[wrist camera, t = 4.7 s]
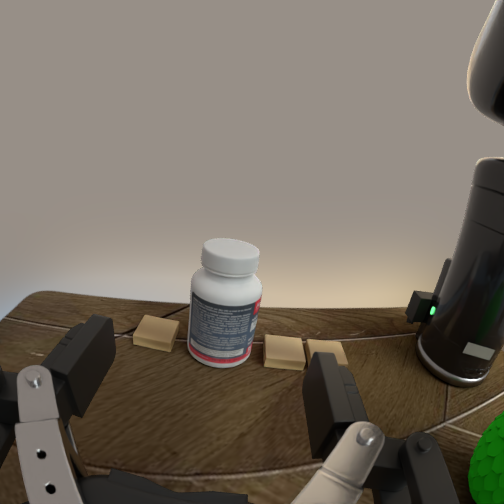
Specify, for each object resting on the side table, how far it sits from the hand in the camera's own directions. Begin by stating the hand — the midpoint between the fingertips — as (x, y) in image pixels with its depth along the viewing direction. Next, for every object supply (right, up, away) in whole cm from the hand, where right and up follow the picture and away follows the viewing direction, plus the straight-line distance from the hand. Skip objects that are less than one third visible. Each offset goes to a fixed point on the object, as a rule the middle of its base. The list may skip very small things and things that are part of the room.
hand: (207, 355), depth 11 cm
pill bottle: (-1, -4, +13) cm, 13 cm away
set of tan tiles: (+1, -4, +13) cm, 13 cm away
